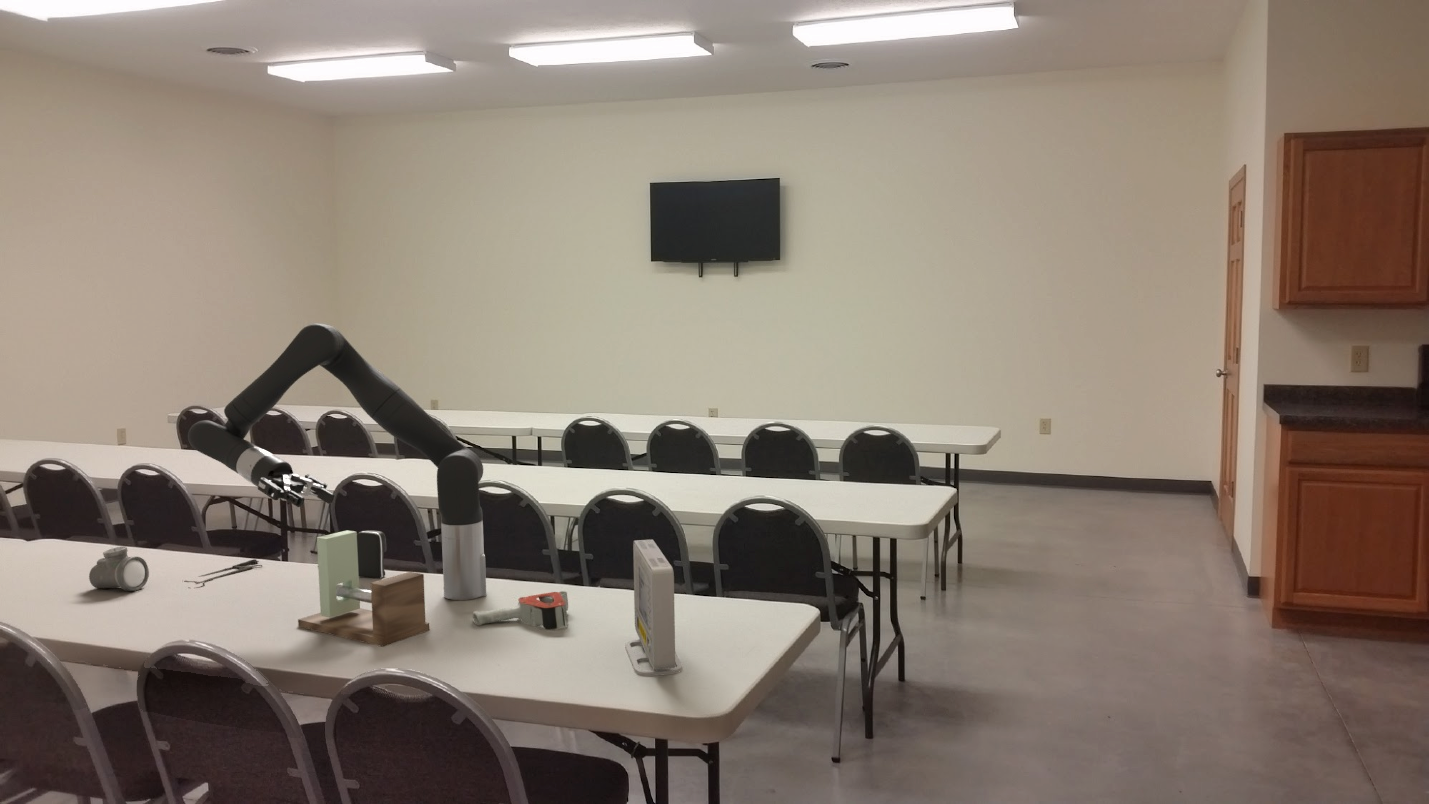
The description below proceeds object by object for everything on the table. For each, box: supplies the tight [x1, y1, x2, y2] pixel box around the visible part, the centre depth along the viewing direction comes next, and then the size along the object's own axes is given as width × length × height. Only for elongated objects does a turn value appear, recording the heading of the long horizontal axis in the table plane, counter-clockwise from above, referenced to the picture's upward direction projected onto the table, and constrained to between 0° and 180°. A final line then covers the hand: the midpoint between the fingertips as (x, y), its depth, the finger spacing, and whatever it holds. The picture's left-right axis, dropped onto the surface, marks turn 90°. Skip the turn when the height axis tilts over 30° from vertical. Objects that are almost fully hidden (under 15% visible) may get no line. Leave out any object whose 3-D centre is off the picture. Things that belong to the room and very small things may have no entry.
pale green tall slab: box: [316, 530, 361, 618], centre depth 221 cm, size 3×8×17 cm, turn 148°
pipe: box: [336, 584, 372, 604], centre depth 218 cm, size 22×3×3 cm, turn 58°
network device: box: [624, 539, 683, 677], centre depth 197 cm, size 26×9×20 cm, turn 12°
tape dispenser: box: [472, 590, 569, 631], centre depth 222 cm, size 18×5×20 cm
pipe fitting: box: [88, 545, 150, 592], centre depth 251 cm, size 12×8×10 cm, turn 73°
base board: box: [297, 571, 430, 648], centre depth 218 cm, size 26×12×12 cm, turn 58°
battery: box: [357, 530, 387, 579], centre depth 259 cm, size 7×4×11 cm, turn 72°
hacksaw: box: [183, 558, 263, 589], centre depth 263 cm, size 24×10×2 cm, turn 149°
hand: (317, 501), depth 223 cm, fingers open, 8 cm apart
